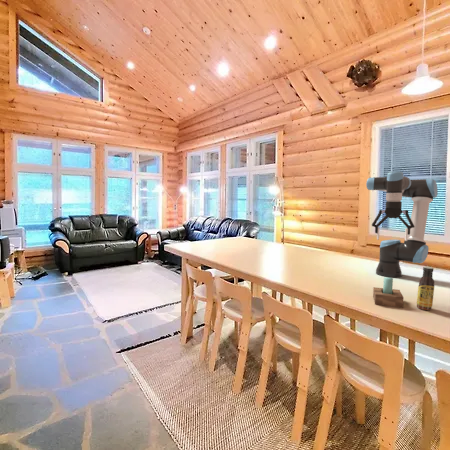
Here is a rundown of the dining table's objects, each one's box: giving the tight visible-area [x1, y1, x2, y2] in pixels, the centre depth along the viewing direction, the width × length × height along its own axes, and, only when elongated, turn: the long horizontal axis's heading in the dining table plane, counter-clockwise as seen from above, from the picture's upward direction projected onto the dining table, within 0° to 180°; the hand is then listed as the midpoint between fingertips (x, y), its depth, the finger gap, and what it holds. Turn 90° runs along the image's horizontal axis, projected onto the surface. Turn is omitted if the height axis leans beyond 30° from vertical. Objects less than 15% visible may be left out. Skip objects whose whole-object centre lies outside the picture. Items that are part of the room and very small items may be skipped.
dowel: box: [382, 276, 394, 294], centre depth 153 cm, size 4×4×12 cm
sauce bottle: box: [416, 266, 435, 311], centre depth 143 cm, size 6×6×20 cm
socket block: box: [372, 287, 404, 308], centre depth 153 cm, size 12×12×5 cm
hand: (391, 240), depth 167 cm, fingers open, 13 cm apart
